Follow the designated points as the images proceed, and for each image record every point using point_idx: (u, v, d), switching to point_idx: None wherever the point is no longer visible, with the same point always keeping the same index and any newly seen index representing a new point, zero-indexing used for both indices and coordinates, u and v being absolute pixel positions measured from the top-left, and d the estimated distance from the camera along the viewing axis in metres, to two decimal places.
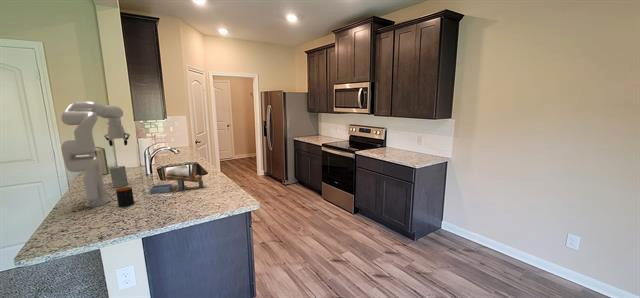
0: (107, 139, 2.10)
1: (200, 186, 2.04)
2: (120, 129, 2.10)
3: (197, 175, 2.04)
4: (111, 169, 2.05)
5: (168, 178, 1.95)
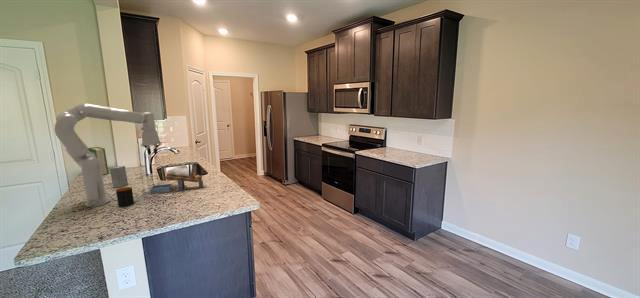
0: (146, 147, 1.96)
1: (200, 186, 2.04)
2: (155, 135, 1.95)
3: (197, 175, 2.04)
4: (111, 169, 2.05)
5: (168, 178, 1.95)
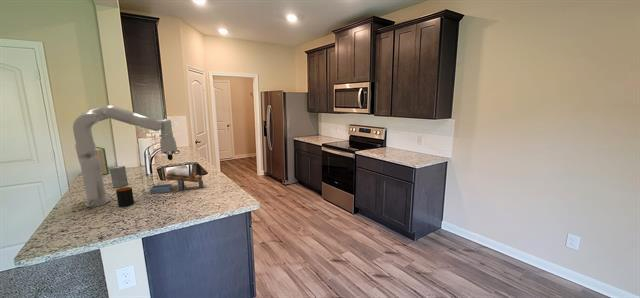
0: (166, 153, 2.02)
1: (200, 186, 2.04)
2: (172, 141, 2.01)
3: (197, 175, 2.04)
4: (111, 169, 2.05)
5: (168, 178, 1.95)
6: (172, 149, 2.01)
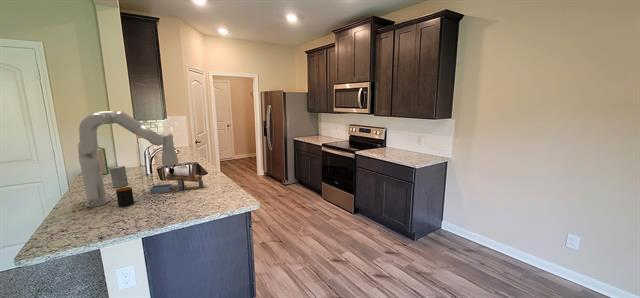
0: (167, 167, 2.04)
1: (200, 186, 2.04)
2: (174, 155, 2.03)
3: (197, 175, 2.03)
4: (111, 169, 2.05)
5: (168, 178, 1.95)
6: (173, 163, 2.03)
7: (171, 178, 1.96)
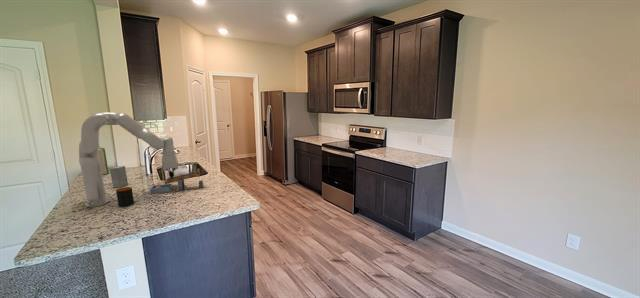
0: (167, 170, 2.05)
1: (200, 186, 2.04)
2: (174, 159, 2.03)
3: None
4: (111, 169, 2.05)
5: (167, 182, 1.96)
6: (173, 166, 2.04)
7: (170, 181, 1.96)
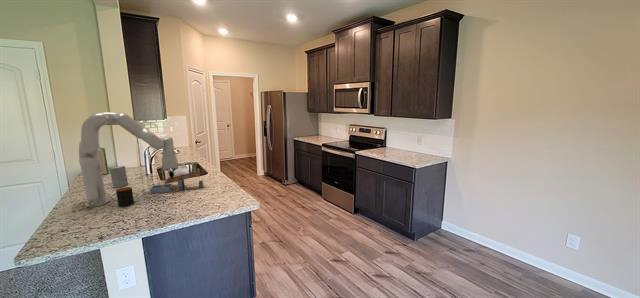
0: (167, 170, 2.05)
1: (200, 186, 2.04)
2: (174, 159, 2.03)
3: (161, 186, 1.98)
4: (111, 169, 2.05)
5: (167, 182, 1.96)
6: (173, 166, 2.04)
7: (170, 181, 1.96)
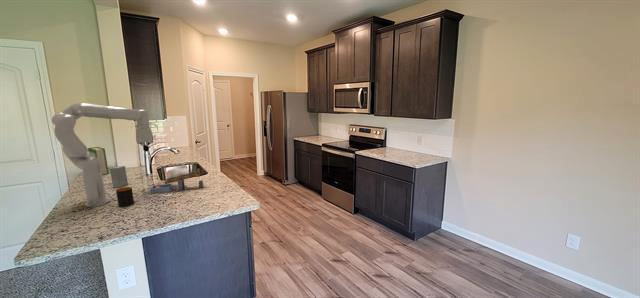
0: (141, 144, 1.98)
1: (200, 186, 2.04)
2: (148, 132, 1.97)
3: None
4: (111, 169, 2.05)
5: (167, 182, 1.96)
6: (148, 140, 1.97)
7: (170, 181, 1.96)
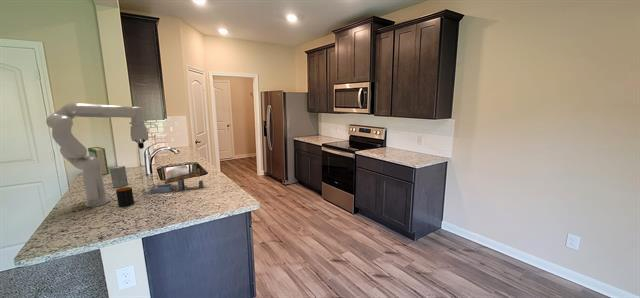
0: (136, 141, 1.98)
1: (200, 186, 2.04)
2: (143, 129, 1.96)
3: None
4: (111, 169, 2.05)
5: (167, 182, 1.96)
6: (143, 137, 1.97)
7: (170, 181, 1.96)
